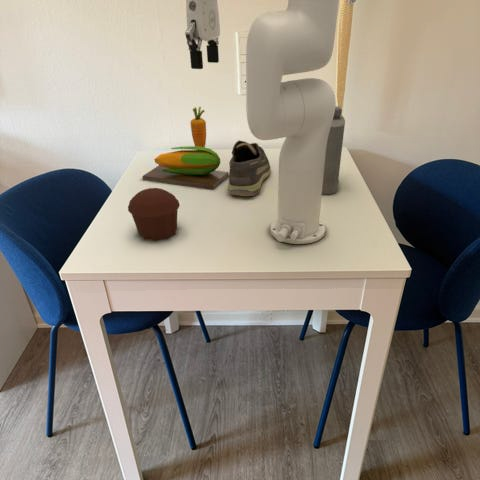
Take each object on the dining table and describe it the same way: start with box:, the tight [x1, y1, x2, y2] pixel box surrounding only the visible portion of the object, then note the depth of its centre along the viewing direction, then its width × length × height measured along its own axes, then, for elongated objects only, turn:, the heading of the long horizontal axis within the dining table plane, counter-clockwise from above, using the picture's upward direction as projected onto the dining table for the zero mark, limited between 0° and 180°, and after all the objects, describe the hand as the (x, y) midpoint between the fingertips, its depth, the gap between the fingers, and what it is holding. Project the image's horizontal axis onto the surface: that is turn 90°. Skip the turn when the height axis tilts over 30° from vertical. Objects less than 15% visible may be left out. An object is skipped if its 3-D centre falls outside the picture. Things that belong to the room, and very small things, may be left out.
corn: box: [153, 145, 221, 175], centre depth 128 cm, size 7×8×20 cm
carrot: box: [190, 106, 207, 148], centre depth 142 cm, size 5×5×15 cm
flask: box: [322, 105, 346, 195], centre depth 118 cm, size 15×6×20 cm, turn 176°
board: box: [142, 165, 229, 190], centre depth 131 cm, size 11×23×1 cm, turn 67°
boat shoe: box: [227, 140, 271, 197], centre depth 125 cm, size 11×29×11 cm, turn 174°
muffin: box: [127, 187, 181, 242], centre depth 101 cm, size 12×11×10 cm
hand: (205, 65), depth 117 cm, fingers open, 9 cm apart
